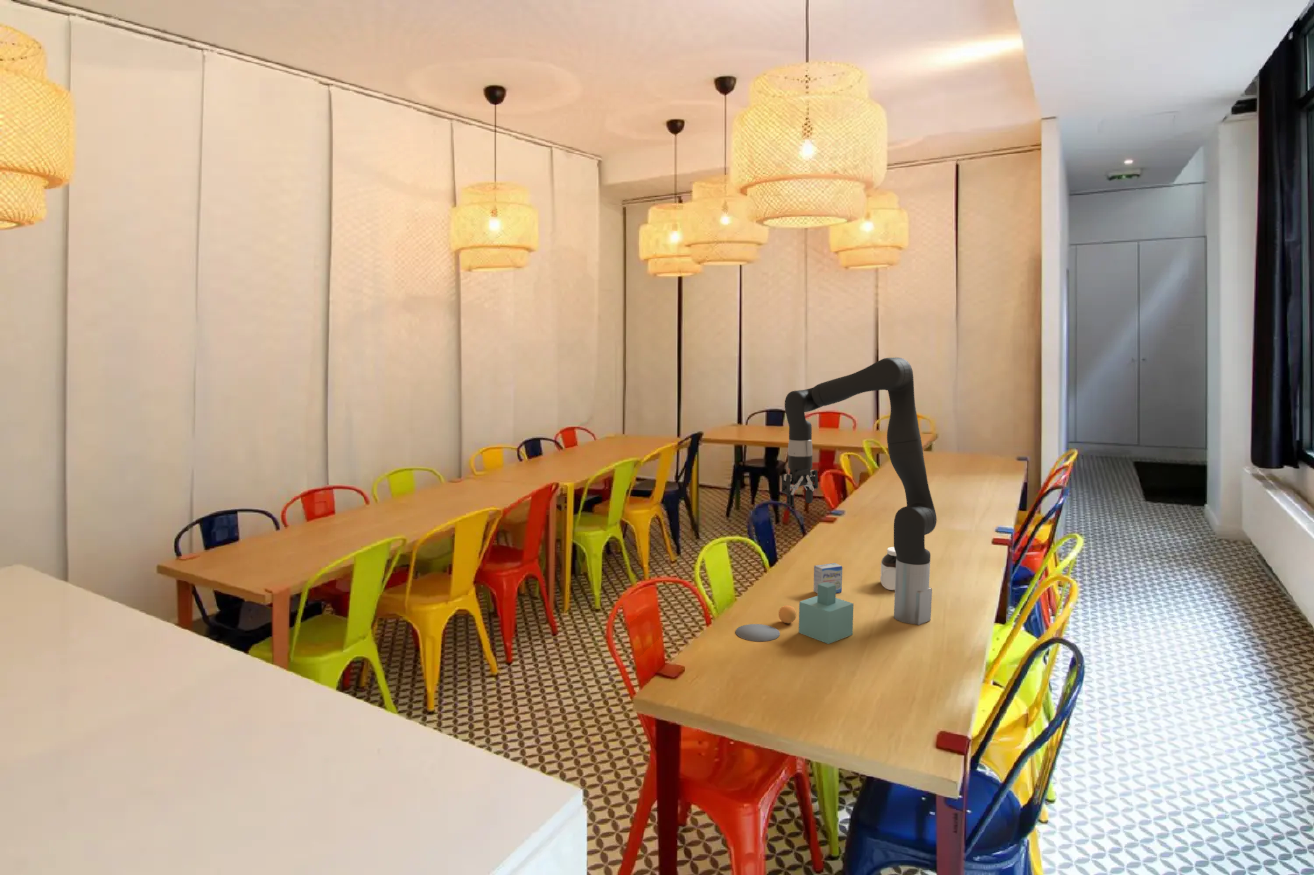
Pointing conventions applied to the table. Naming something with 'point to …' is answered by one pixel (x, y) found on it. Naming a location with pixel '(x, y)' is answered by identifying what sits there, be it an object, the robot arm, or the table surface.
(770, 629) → the spot
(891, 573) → the spread jar
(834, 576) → the medicine box
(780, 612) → the ball
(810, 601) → the teal cube with peg
